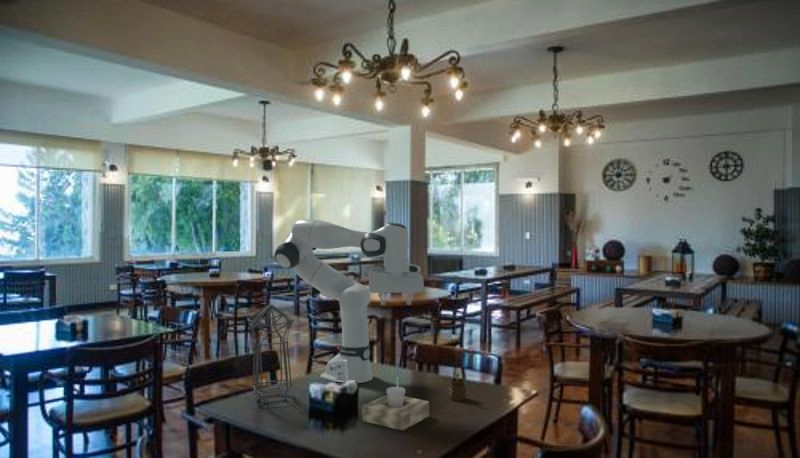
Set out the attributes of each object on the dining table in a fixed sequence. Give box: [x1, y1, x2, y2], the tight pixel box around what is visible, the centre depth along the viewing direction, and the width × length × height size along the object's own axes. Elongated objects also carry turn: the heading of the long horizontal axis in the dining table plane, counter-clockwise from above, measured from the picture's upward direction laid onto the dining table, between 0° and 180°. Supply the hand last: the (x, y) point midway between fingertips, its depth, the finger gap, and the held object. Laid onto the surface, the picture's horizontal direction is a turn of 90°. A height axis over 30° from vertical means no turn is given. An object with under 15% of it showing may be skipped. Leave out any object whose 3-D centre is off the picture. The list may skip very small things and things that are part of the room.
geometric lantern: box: [245, 304, 295, 404], centre depth 206 cm, size 16×16×35 cm
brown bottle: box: [448, 367, 467, 402], centre depth 207 cm, size 6×6×12 cm
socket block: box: [361, 394, 430, 431], centre depth 186 cm, size 16×16×5 cm
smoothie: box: [385, 375, 406, 408], centre depth 186 cm, size 6×6×14 cm
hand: (396, 304), depth 205 cm, fingers open, 8 cm apart
